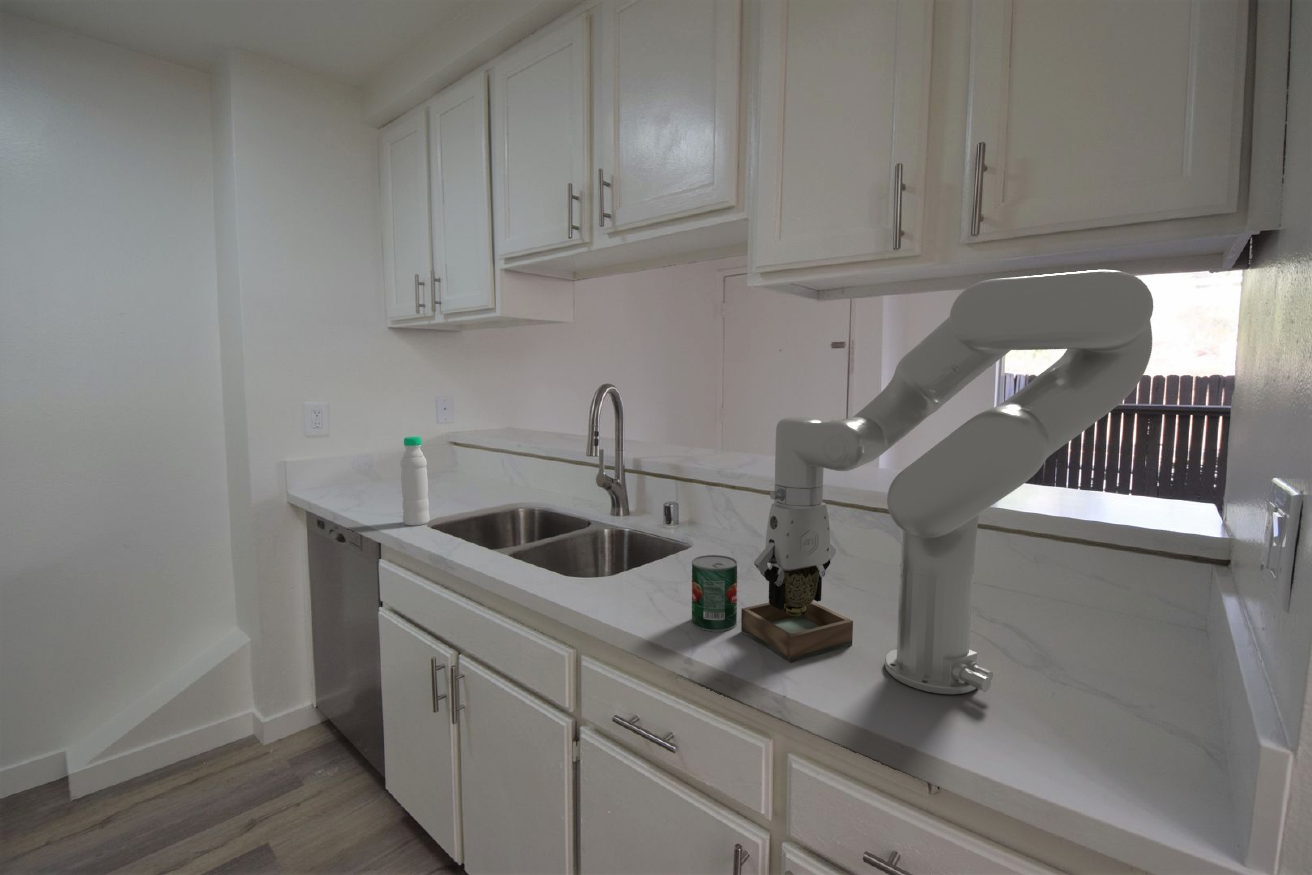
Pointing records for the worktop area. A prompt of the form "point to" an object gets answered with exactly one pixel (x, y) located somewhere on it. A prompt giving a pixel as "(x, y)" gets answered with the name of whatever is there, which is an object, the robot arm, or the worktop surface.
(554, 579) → the worktop surface
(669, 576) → the worktop surface
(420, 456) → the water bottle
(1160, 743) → the worktop surface
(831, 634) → the walnut box
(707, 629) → the canned tomato
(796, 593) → the olive textured bell shape
